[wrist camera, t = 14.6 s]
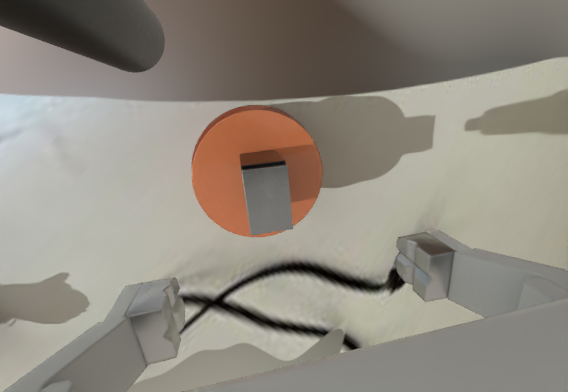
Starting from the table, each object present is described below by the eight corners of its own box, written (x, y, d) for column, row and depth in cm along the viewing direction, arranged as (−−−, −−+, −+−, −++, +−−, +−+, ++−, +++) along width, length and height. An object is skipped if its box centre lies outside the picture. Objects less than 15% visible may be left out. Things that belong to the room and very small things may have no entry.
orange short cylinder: (193, 111, 31) (171, 112, 20) (294, 102, 32) (324, 97, 22) (211, 207, 35) (201, 251, 24) (301, 194, 36) (329, 230, 26)
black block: (239, 153, 22) (240, 168, 16) (274, 149, 22) (287, 162, 17) (247, 209, 24) (251, 238, 18) (280, 204, 24) (293, 231, 18)
